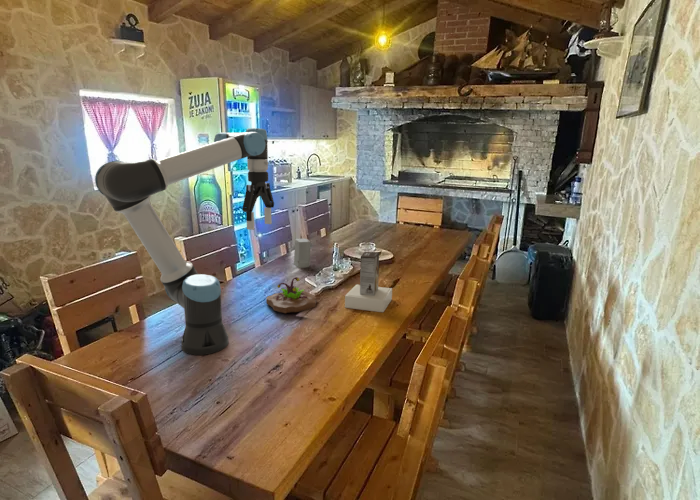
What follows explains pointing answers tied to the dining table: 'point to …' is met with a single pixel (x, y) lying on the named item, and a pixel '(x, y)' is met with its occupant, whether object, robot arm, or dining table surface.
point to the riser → (368, 299)
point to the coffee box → (369, 273)
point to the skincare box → (302, 253)
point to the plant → (291, 299)
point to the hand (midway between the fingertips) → (259, 226)
